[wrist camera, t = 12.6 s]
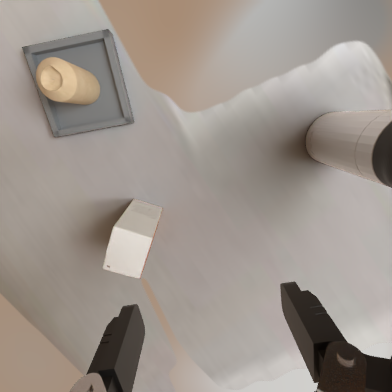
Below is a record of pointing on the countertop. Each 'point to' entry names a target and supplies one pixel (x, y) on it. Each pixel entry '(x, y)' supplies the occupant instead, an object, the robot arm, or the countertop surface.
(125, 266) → the small box
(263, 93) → the countertop surface
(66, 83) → the candle
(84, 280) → the countertop surface
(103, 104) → the rest tray
